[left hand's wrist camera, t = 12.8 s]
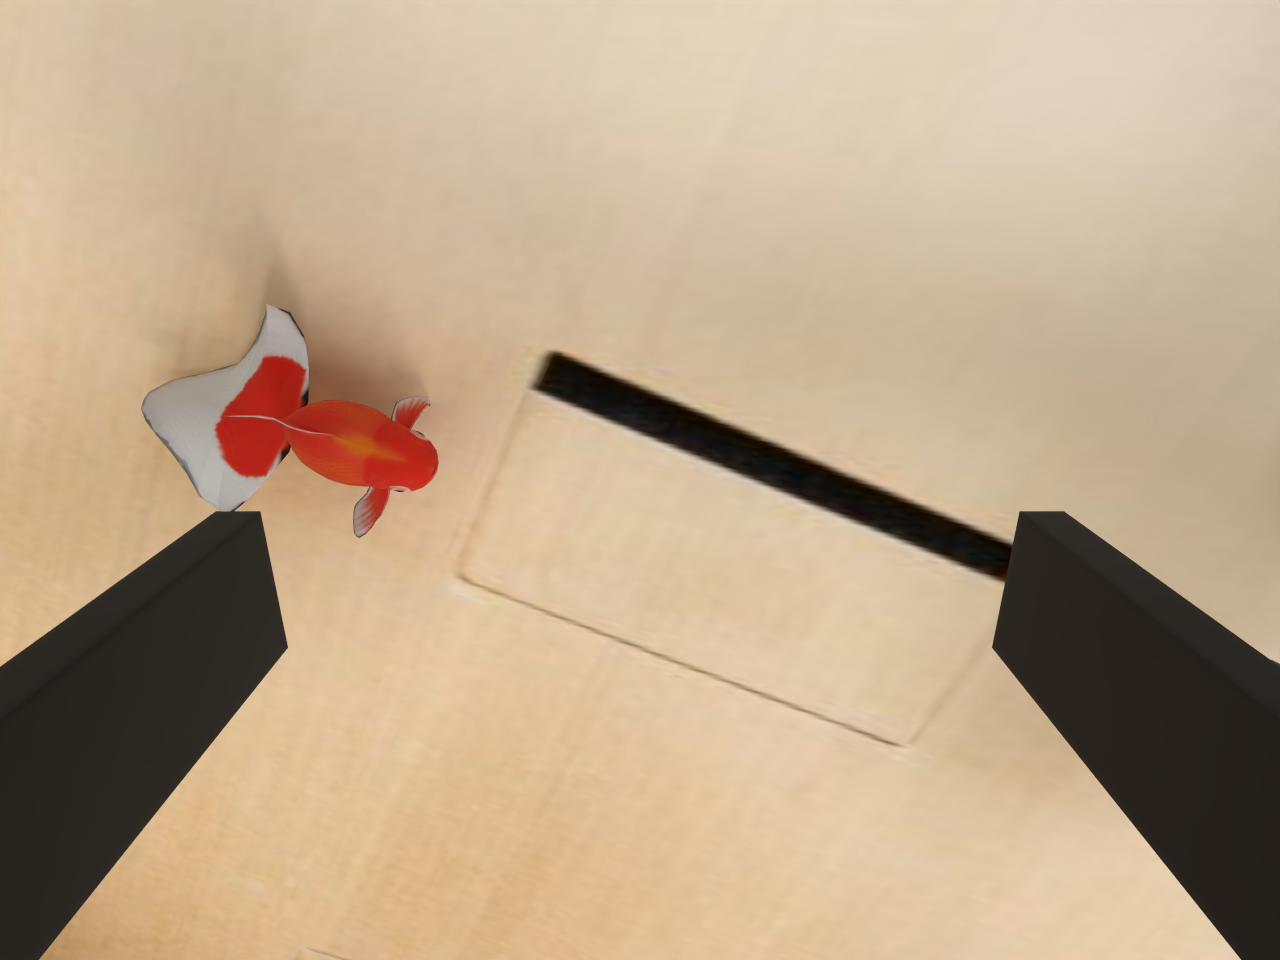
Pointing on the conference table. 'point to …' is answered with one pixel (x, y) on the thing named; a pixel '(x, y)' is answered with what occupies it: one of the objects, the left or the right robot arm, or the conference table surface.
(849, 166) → the conference table surface
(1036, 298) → the conference table surface
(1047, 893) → the conference table surface
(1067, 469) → the conference table surface
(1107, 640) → the left robot arm
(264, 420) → the fish
